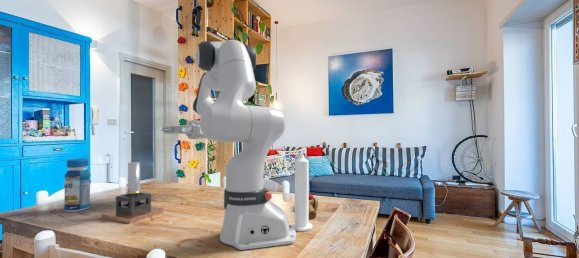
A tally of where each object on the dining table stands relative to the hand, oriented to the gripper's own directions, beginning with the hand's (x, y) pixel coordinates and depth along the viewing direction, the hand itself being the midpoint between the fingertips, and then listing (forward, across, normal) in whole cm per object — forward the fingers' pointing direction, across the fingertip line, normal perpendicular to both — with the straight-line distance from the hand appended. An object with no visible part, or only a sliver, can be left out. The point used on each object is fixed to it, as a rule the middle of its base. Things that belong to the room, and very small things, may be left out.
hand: (171, 129), depth 112 cm
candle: (+3, +58, +32) cm, 67 cm away
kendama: (-15, +55, +32) cm, 66 cm away
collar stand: (+14, -4, +32) cm, 35 cm away
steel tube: (+14, -4, +30) cm, 34 cm away
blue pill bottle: (+17, -31, +32) cm, 48 cm away
